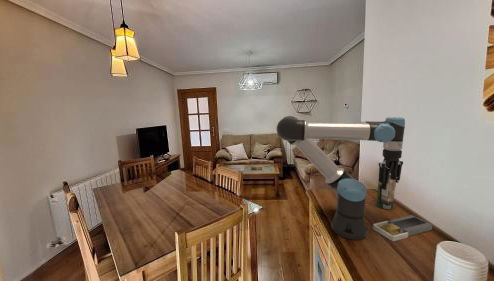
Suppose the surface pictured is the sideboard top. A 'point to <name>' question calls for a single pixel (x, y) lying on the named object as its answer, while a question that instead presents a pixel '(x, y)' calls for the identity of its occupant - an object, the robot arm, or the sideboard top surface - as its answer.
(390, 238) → the white u-shaped frame
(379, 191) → the coffee jar
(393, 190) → the beige tall block
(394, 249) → the sideboard top surface
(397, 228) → the olive small block
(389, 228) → the chip
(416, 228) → the grey shallow tray
